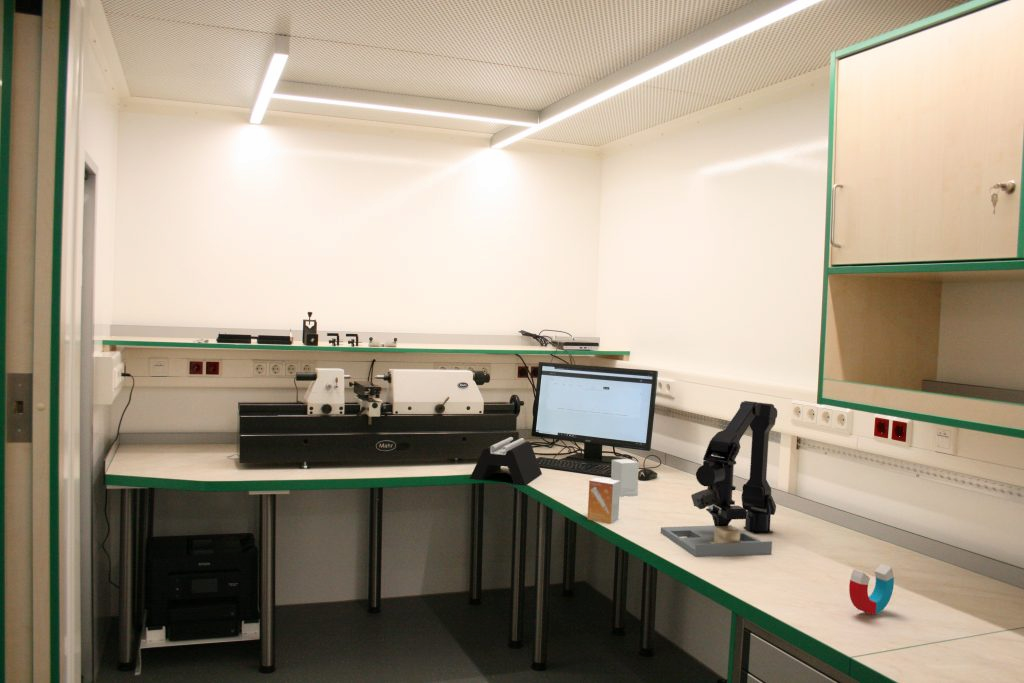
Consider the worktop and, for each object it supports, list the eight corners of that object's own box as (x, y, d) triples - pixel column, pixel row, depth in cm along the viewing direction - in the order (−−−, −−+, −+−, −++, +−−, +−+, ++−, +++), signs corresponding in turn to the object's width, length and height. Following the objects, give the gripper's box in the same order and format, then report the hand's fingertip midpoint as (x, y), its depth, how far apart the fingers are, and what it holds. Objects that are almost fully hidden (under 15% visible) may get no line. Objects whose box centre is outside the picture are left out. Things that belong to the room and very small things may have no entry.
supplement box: (638, 497, 271) (639, 462, 270) (619, 498, 268) (621, 463, 268) (627, 492, 278) (629, 458, 277) (609, 493, 275) (611, 459, 274)
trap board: (660, 533, 225) (661, 522, 225) (730, 531, 231) (730, 520, 231) (695, 557, 204) (696, 544, 204) (771, 554, 210) (772, 541, 210)
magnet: (881, 606, 174) (884, 563, 173) (892, 610, 171) (895, 566, 171) (847, 614, 168) (849, 569, 168) (858, 618, 166) (860, 573, 165)
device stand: (468, 483, 285) (470, 443, 284) (488, 472, 306) (490, 435, 306) (525, 489, 278) (527, 449, 277) (542, 477, 299) (543, 440, 299)
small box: (587, 521, 236) (588, 480, 236) (595, 517, 242) (596, 476, 241) (611, 525, 232) (613, 483, 232) (618, 521, 238) (620, 480, 237)
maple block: (730, 541, 213) (731, 525, 213) (739, 547, 208) (740, 530, 208) (714, 542, 212) (714, 526, 212) (722, 547, 207) (723, 531, 207)
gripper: (681, 474, 221) (678, 527, 222) (712, 489, 203) (709, 547, 204) (715, 474, 224) (713, 526, 224) (749, 488, 206) (746, 545, 206)
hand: (719, 535), depth 215 cm, fingers closed
